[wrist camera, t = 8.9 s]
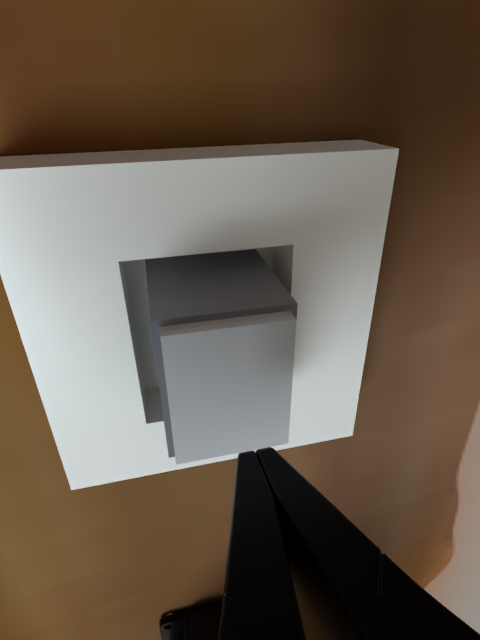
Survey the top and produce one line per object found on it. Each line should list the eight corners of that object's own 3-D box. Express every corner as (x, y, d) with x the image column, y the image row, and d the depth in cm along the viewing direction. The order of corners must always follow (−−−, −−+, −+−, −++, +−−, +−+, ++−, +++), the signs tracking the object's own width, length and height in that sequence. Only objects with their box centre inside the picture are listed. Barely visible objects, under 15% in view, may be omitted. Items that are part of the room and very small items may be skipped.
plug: (254, 360, 18) (293, 446, 13) (159, 373, 17) (170, 470, 13) (255, 249, 15) (303, 312, 11) (144, 259, 14) (151, 330, 10)
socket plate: (329, 399, 21) (352, 435, 19) (78, 443, 18) (71, 490, 16) (360, 139, 15) (399, 148, 13) (-6, 156, 12) (-34, 171, 10)
